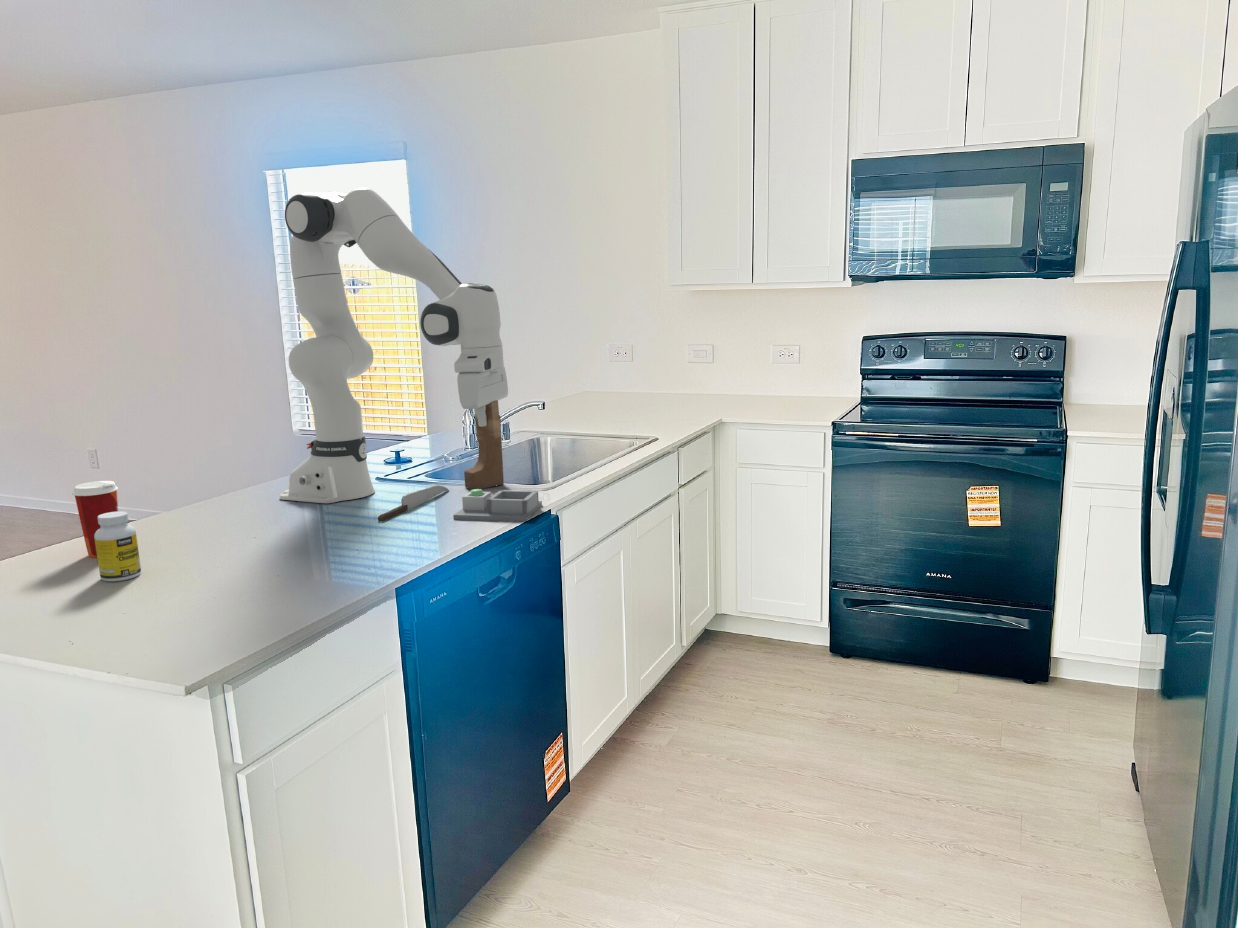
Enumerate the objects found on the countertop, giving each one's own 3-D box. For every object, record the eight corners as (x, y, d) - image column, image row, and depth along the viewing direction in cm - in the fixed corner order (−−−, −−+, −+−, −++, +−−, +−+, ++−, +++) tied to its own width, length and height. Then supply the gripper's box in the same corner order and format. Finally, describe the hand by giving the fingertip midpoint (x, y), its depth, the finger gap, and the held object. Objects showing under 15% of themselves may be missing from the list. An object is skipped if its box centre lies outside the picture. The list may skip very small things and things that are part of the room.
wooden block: (473, 490, 217) (469, 419, 213) (464, 487, 220) (460, 417, 217) (504, 484, 222) (500, 415, 219) (495, 482, 226) (491, 413, 222)
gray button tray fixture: (453, 519, 191) (452, 501, 190) (476, 503, 204) (475, 486, 203) (523, 521, 188) (522, 503, 187) (541, 505, 201) (541, 488, 200)
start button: (469, 504, 196) (468, 491, 195) (473, 501, 198) (473, 489, 197) (480, 505, 195) (480, 491, 194) (484, 502, 198) (484, 489, 197)
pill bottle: (113, 585, 153) (103, 521, 151) (93, 579, 156) (83, 516, 154) (149, 574, 158) (140, 512, 156) (129, 568, 162) (120, 508, 160)
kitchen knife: (381, 508, 189) (450, 475, 217) (376, 507, 190) (446, 474, 217) (383, 526, 190) (451, 491, 218) (378, 526, 191) (447, 491, 218)
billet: (477, 439, 189) (473, 403, 187) (483, 436, 193) (480, 400, 191) (494, 439, 188) (491, 402, 187) (500, 436, 192) (497, 400, 190)
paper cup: (136, 549, 174) (126, 481, 171) (102, 561, 167) (91, 489, 164) (106, 546, 177) (96, 479, 174) (72, 557, 169) (61, 487, 167)
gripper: (485, 356, 198) (490, 417, 200) (450, 365, 178) (456, 432, 181) (512, 355, 196) (516, 416, 199) (479, 364, 177) (485, 431, 180)
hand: (487, 424), depth 190 cm, fingers closed on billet, 4 cm apart
